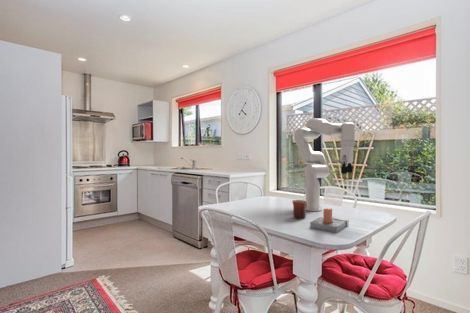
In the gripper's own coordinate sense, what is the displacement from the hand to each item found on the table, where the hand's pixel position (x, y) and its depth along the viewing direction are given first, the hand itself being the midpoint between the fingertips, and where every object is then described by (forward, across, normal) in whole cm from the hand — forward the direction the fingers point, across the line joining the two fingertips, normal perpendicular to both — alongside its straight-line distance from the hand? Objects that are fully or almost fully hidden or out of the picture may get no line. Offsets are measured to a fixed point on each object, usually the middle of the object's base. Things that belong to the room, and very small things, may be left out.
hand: (347, 172), depth 161 cm
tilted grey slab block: (+28, +12, 0) cm, 31 cm away
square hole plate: (+28, +22, -3) cm, 36 cm away
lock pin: (+28, +22, -3) cm, 36 cm away
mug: (+28, +11, -24) cm, 39 cm away
